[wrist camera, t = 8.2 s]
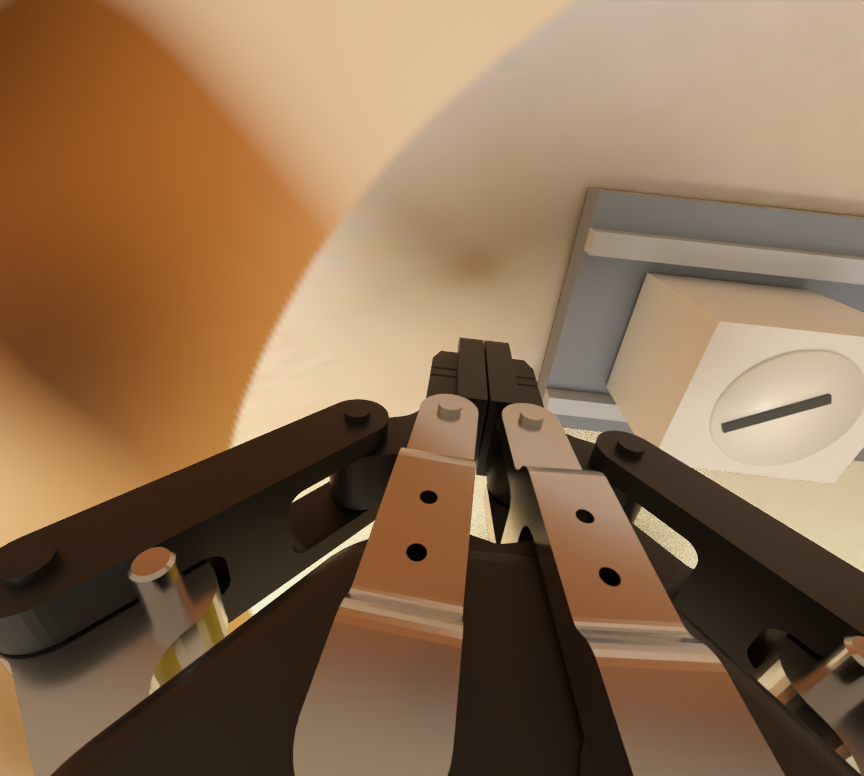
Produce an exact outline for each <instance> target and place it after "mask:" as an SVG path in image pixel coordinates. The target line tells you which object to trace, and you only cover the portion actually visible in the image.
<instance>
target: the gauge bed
mask: <svg viewBox="0 0 864 776" xmlns="http://www.w3.org/2000/svg"><path fill="white" fill-rule="evenodd" d="M647 272H649V273H658V274H667V275H676V276H686V277H695V278H704V279H713V280H723V281H732V282H741V283H750V284H760V285H769V286H778V287H787V288H796V289H806V290H810V291H813V292H815V293H818V294H820V295H822V296H825V297H827V298H830V299H832V300H835V301H837V302H840V303H842V304H844V305H847V306H849V307H852V308H854V309H857V310H859V311H861V312H864V217H862V216H852V215H843V214H833V213H824V212H814V211H805V210H796V209H786V208H777V207H767V206H758V205H748V204H739V203H730V202H720V201H711V200H701V199H692V198H682V197H673V196H664V195H654V194H645V193H635V192H626V191H616V190H607V189H598V188H588V192H587V195H586V199H585V203H584V207H583V211H582V215H581V219H580V223H579V226H578V230H577V234H576V238H575V242H574V246H573V250H572V253H571V257H570V261H569V265H568V269H567V273H566V277H565V281H564V284H563V288H562V292H561V296H560V300H559V304H558V308H557V311H556V315H555V319H554V323H553V327H552V331H551V335H550V339H549V342H548V346H547V350H546V354H545V358H544V362H543V366H542V369H541V373H540V377H539V381H538V388H539V391H540V395H541V398H542V402H543V405H544V408H545V409H547V410H549V411H550V412H552V413H553V414H554V415H556V417H557V418H558V419H559V421H560V423H561V425H562V427H564V428H573V429H582V430H591V431H600V432H606V431H623V432H627V433H631V434H634V433H633V431H632V430H631V428H630V426H629V425H628V423H627V421H626V420H625V418H624V416H623V415H622V413H621V411H620V410H619V408H618V406H617V405H616V403H615V401H614V399H613V398H612V396H611V394H610V393H609V391H608V389H607V388H606V386H607V383H608V380H609V377H610V375H611V372H612V369H613V366H614V363H615V361H616V358H617V355H618V352H619V350H620V347H621V344H622V341H623V338H624V336H625V333H626V330H627V327H628V325H629V322H630V319H631V316H632V313H633V311H634V308H635V305H636V302H637V300H638V297H639V294H640V291H641V288H642V286H643V283H644V280H645V277H646V274H647ZM854 460H856V461H864V447H863V448H862V450H861V451H860V452H859V453H858V455H857V456H856V457H855V458H854Z"/></svg>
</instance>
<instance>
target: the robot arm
mask: <svg viewBox="0 0 864 776" xmlns="http://www.w3.org/2000/svg"><path fill="white" fill-rule="evenodd" d="M535 379H536V378H535V375H534V371H533V369H532V368H531V367H530V366H529V365H528V364H527V363H526V362H525V361H524V360H515V359H512V357H511V352H510V347H509V343H503V342H494V341H486V340H485V341H484V344H483V340H476V339H468V338H460V339H459V345H458V352H457V353H455V352H446V351H440V352H439V353H438V354H437V355H436V356H434V357H433V361H432V367H431V373H430V379H429V385H428V391H427V397H426V399H425V400H424V401H423V402H422V403H421V406H420V409H419V411H417V412H415V413H413V414H410V415H407V416H401V417H391V418H388V417H389V416H388V412H387V411H386V409H385V408H384V407H383V406H381V405H380V404H378V403H375V402H373V401H369V400H361V399H355V400H347V401H343V402H340V403H337V404H335V405H333V406H330V407H328V408H326V409H323V410H321V411H318V412H316V413H314V414H311V415H309V416H307V417H304V418H302V419H299V420H297V421H295V422H292V423H290V424H288V425H285V426H283V427H281V428H278V429H276V430H273V431H271V432H269V433H266V434H264V435H262V436H259V437H257V438H255V439H252V440H250V441H247V442H245V443H243V444H240V445H238V446H236V447H233V448H231V449H228V450H226V451H224V452H221V453H219V454H217V455H214V456H212V457H210V458H207V459H205V460H203V461H200V462H198V463H195V464H193V465H191V466H189V467H186V468H184V469H182V470H179V471H176V472H174V473H172V474H170V475H167V476H165V477H162V478H160V479H157V480H155V481H153V482H150V483H148V484H146V485H143V486H141V487H139V488H136V489H134V490H131V491H129V492H127V493H124V494H122V495H120V496H117V497H115V498H112V499H110V500H108V501H105V502H103V503H101V504H98V505H96V506H94V507H91V508H89V509H86V510H84V511H82V512H80V513H77V514H75V515H72V516H70V517H68V518H65V519H63V520H60V521H58V522H56V523H53V524H51V525H49V526H46V527H44V528H42V529H39V530H37V531H35V532H32V533H30V534H27V535H25V536H23V537H20V538H18V539H16V540H14V541H12V542H10V543H8V544H7V545H5V546H3V547H1V548H0V664H1V665H2V666H3V667H4V669H5V670H6V671H7V672H8V673H9V674H10V675H11V677H12V678H13V679H14V684H15V689H16V693H17V698H18V702H19V707H20V711H21V716H22V720H23V725H24V729H25V733H26V739H27V743H28V747H29V752H30V757H31V761H32V766H33V770H34V774H35V776H864V573H863V572H862V571H860V570H858V569H857V568H855V567H853V566H852V565H850V564H849V563H847V562H845V561H844V560H842V559H840V558H839V557H837V556H835V555H834V554H832V553H830V552H829V551H827V550H826V549H824V548H822V547H821V546H819V545H817V544H816V543H814V542H812V541H811V540H809V539H807V538H806V537H804V536H803V535H801V534H799V533H798V532H796V531H794V530H793V529H791V528H789V527H788V526H786V525H785V524H783V523H781V522H780V521H778V520H776V519H775V518H773V517H771V516H770V515H768V514H766V513H765V512H763V511H762V510H760V509H758V508H757V507H755V506H753V505H752V504H750V503H748V502H747V501H745V500H743V499H742V498H740V497H739V496H737V495H735V494H734V493H732V492H730V491H729V490H727V489H725V488H724V487H722V486H721V485H719V484H717V483H716V482H714V481H712V480H711V479H709V478H707V477H706V476H704V475H702V474H701V473H699V472H698V471H696V470H694V469H693V468H691V467H689V466H688V465H686V464H684V463H683V462H681V461H679V460H678V459H676V458H675V457H673V456H671V455H670V454H668V453H666V452H665V451H663V450H661V449H660V448H658V447H657V446H655V445H653V444H652V443H650V442H648V441H647V440H645V439H643V438H641V437H639V436H637V435H634V434H631V433H627V432H623V431H606V432H603V433H601V434H600V435H599V436H598V438H597V440H596V443H595V444H594V443H591V442H588V441H584V440H581V439H578V438H575V437H572V436H570V435H568V434H565V431H564V429H563V427H562V425H561V423H560V421H559V419H558V418H557V417H556V415H554V414H553V413H552V412H550V411H549V410H547V409H545V408H544V405H543V402H542V398H541V395H540V391H539V388H538V385H537V381H536V380H535ZM475 469H476V475H482V476H487V485H486V489H485V494H484V505H485V512H486V519H487V526H488V533H489V540H490V541H487V540H484V539H481V538H478V537H475V536H472V535H470V525H471V514H472V503H473V492H474V480H475ZM329 476H330V482H328V483H326V484H324V485H323V486H321V487H319V488H317V489H316V490H314V491H312V492H310V493H309V494H307V495H305V496H303V497H302V498H300V499H298V500H296V501H295V502H293V503H292V501H293V500H294V498H295V497H296V496H297V495H298V494H299V493H301V492H302V491H304V490H305V489H307V488H309V487H311V486H312V485H314V484H316V483H318V482H320V481H321V480H323V479H325V478H327V477H329ZM641 507H643V508H645V509H646V510H647V511H649V512H650V513H652V514H653V515H654V516H656V517H657V518H658V519H660V520H661V521H662V522H664V523H665V524H666V525H668V526H669V527H670V528H672V529H673V530H675V531H676V532H677V533H679V534H680V535H681V536H683V537H684V538H685V539H687V540H688V541H689V542H690V543H691V544H692V546H693V547H694V548H695V550H696V552H697V555H698V564H697V566H696V567H695V569H692V568H690V567H688V566H686V565H685V564H684V563H683V562H681V561H680V560H679V559H677V558H676V557H675V556H674V555H672V554H671V553H670V552H668V551H667V550H666V549H665V548H663V547H662V546H661V545H660V544H658V543H657V542H656V541H654V540H653V539H652V538H651V537H649V536H648V535H647V534H645V533H644V532H643V531H642V530H640V529H639V528H638V527H637V526H635V525H634V524H633V523H634V521H635V519H636V517H637V515H638V513H639V511H640V509H641ZM374 520H375V522H374V525H373V528H372V530H371V533H370V536H369V539H367V540H364V541H361V542H358V543H356V544H353V545H351V546H349V547H347V548H344V549H343V550H341V551H339V552H338V553H336V554H334V555H333V556H331V557H330V558H328V559H327V560H326V561H324V562H323V563H322V564H320V565H319V566H318V567H317V568H315V569H314V570H313V571H311V572H310V573H309V574H307V575H306V576H305V577H303V578H302V579H301V580H300V581H298V582H297V583H296V584H294V585H293V586H292V587H290V588H289V589H288V590H286V591H285V592H284V593H282V594H281V595H280V596H279V597H277V598H276V599H275V600H273V601H272V602H271V603H269V604H268V605H267V606H265V607H264V608H263V609H262V610H260V611H259V612H258V613H256V614H255V615H254V616H252V617H251V618H250V619H248V620H247V621H246V622H245V623H243V624H242V625H241V626H239V627H238V628H237V629H235V630H234V631H233V632H231V633H230V634H229V635H228V636H226V637H225V635H226V632H227V627H228V623H229V622H231V621H232V620H234V619H235V618H237V617H238V616H240V615H241V614H242V613H244V612H245V611H247V610H248V609H250V608H251V607H252V606H254V605H255V604H257V603H258V602H259V601H261V600H262V599H264V598H265V597H267V596H268V595H269V594H271V593H272V592H274V591H275V590H276V589H278V588H279V587H281V586H282V585H284V584H285V583H286V582H288V581H289V580H291V579H292V578H293V577H295V576H296V575H298V574H299V573H301V572H302V571H303V570H305V569H306V568H308V567H309V566H311V565H312V564H313V563H315V562H316V561H318V560H319V559H320V558H322V557H323V556H325V555H326V554H328V553H329V552H330V551H332V550H333V549H335V548H336V547H337V546H339V545H340V544H342V543H343V542H345V541H346V540H347V539H349V538H350V537H352V536H353V535H354V534H356V533H357V532H359V531H360V530H362V529H363V528H364V527H366V526H367V525H369V524H370V523H371V522H373V521H374ZM224 637H225V638H224Z"/></svg>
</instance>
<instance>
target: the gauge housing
mask: <svg viewBox="0 0 864 776" xmlns="http://www.w3.org/2000/svg"><path fill="white" fill-rule="evenodd" d="M606 388H607V389H608V391H609V393H610V394H611V396H612V398H613V399H614V401H615V403H616V405H617V406H618V408H619V410H620V411H621V413H622V415H623V416H624V418H625V420H626V421H627V423H628V425H629V426H630V428H631V430H632V431H633V433H634V435H637V436H639V437H641V438H643V439H645V440H647V441H648V442H650V443H652V444H653V445H655V446H657V447H658V448H660V449H661V450H663V451H665V452H666V453H668V454H670V455H671V456H673V457H675V458H676V459H678V460H679V461H681V462H683V463H684V464H686V465H688V466H689V467H691V468H698V469H707V470H716V471H725V472H734V473H742V474H751V475H760V476H769V477H777V478H786V479H795V480H804V481H813V482H821V483H830V484H834V483H835V482H836V481H837V479H838V478H839V477H840V476H841V474H842V473H843V472H844V471H845V469H846V468H847V467H848V466H849V465H850V463H851V462H852V461H853V460H854V458H855V457H856V456H857V455H858V453H859V452H860V451H861V450H862V448H863V447H864V312H861V311H859V310H857V309H854V308H852V307H849V306H847V305H844V304H842V303H840V302H837V301H835V300H832V299H830V298H827V297H825V296H822V295H820V294H818V293H815V292H813V291H810V290H806V289H796V288H787V287H778V286H769V285H760V284H750V283H741V282H732V281H723V280H713V279H704V278H695V277H686V276H676V275H667V274H658V273H649V272H647V274H646V277H645V280H644V283H643V286H642V288H641V291H640V294H639V297H638V300H637V302H636V305H635V308H634V311H633V313H632V316H631V319H630V322H629V325H628V327H627V330H626V333H625V336H624V338H623V341H622V344H621V347H620V350H619V352H618V355H617V358H616V361H615V363H614V366H613V369H612V372H611V375H610V377H609V380H608V383H607V386H606Z"/></svg>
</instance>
